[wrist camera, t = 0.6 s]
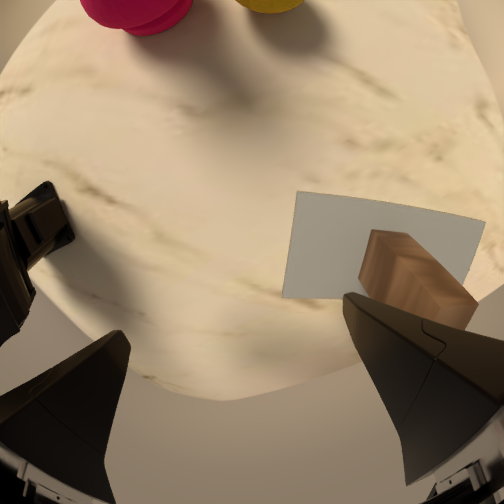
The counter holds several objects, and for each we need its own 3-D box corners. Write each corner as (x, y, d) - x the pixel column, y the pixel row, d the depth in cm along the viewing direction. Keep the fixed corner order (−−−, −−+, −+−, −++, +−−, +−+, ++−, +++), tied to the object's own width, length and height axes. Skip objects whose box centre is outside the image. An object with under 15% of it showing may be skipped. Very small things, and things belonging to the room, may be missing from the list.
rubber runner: (281, 295, 25) (281, 297, 25) (297, 191, 21) (297, 192, 20) (456, 294, 27) (457, 295, 26) (484, 221, 22) (485, 222, 22)
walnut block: (357, 277, 24) (407, 366, 15) (371, 229, 22) (440, 307, 12) (392, 278, 25) (446, 358, 15) (406, 232, 22) (478, 303, 12)
